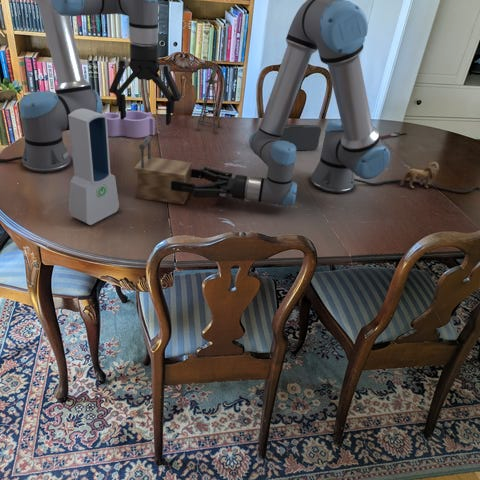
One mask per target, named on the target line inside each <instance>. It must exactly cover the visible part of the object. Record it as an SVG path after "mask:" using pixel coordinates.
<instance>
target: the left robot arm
mask: <svg viewBox="0 0 480 480" xmlns="http://www.w3.org/2000/svg"><path fill="white" fill-rule="evenodd" d="M32 1H33V2H34V3H36V4H37V7H38V10H39V14H40V18H41V23H42V26H43V31H44V34H45V38H46V41H47V45H48V48H49V53H50V56H51V60H52V64H53V68H54V72H55V76H56V79H57V85H56V87H55V88H54V91H55V92H54V91H51V90H42V91H41V90H37V91H32V92H30V93H26V94H24V96H22V97H21V99H20V100H19V103H18V104H19V116H20V120H21V126H22V132H23V136H24V148H23V153H22V156H15V157H12V158H0V163H9V162H10V163H11V162H14V161H20V160H21V161H22V166H23V168H24V169H25V170H27V171H29V172H33V173H39V174H46V173H56V172H61V171H63V170H66V169H67V168H69V167H70V166H71V163H72V159H71V155H70V153H69V151H68V150H67V149H68V148H67V147H66V145H65V143H64V140H63V132H66V131H67V132H68V131H70V128H69V119H68V115H69V114H70V113H71V112H73V111H75V110H77V109H88V110H91V111H94V112H97V113H100V114H103V111H104V110H103V109H104V108H103V107H104V106H103V102H102V98H101V96H100V94H99V92H98V91H97V90H95V89H93V88H92V86H91V83H90V82H89V81H88V80H86V79H85V75H84V72H83V67H82V62H81V59H80V54H79V51H78V45H77V41H76V38H75V33H74V30H73V24H72V22H71V17H77V16H96V15H97V16H98V15H100V16H101V15H102V16H103V15H122V16H127V17H128V29H129V31H128V33H129V42H130V44H129V57H130V59H129V60H127V59H125V58H122V59H121V60H120V59H119V61H118V69H117V71H116V73H115V76H114V78H113V80H112V83H111V85H110V87H109V89H108V92H109V93H111V94H114V95H115V98H116V100H115V101H116V106H117V107H118V108H119V113H120V118H121V119H124V118H125V117H126V111H127V106H126V104H127V103H126V94H124V91H126V90H127V88H129V86H130V85H131V84H132V82H134V81H135V79H138V80H144V81H152V82H153V83H154V84H155V85H156V87H157V88H158V89H159V90H160V92H161V93H162V94H163V96H164V97H165V98H166V100H167V101H166V102H165V125H166V126H170V125H171V123H172V114H174V112H175V103H176V102H179V101H180V100H181V99H182V95H181V93H180V91H179V88H178V86H177V84H176V81H175V80H174V77H173V75H172V72H171V65H170V64H169V63H167V64H160V62H159V45H157V44H158V43H159V0H32ZM128 68H129V69H130V71H132V72H131V73H130V75H129V76H128V77H127V78H126V80H125V81H124V82H123V83H122V84H121V86H120V87H119V85H120V82H121V80H122V78H123V75H124V73H125V71H126V69H128ZM159 71H161V74H163V76H164V78H165V81H166V83H167V84H166V83H165V82H164V80H163V79H162V77H161V76H160V74H159ZM167 85H168V86H167ZM168 87H169V88H168Z"/></svg>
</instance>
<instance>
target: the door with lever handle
mask: <svg viewBox="0 0 480 480" xmlns="http://www.w3.org/2000/svg"><path fill="white" fill-rule="evenodd" d="M152 140H153V136H152V135H148V136H146V137H144V139H143V141H142V142H140V144H139V145H138V148H139V150H140V160H139V162H138V163H137V164H136V165H135V166H134V168H133V169H134V170H133V172H134V173H137V172H140V173H148V174H155V175H162V176H169V177H176V178H184V179H185V177H186V175H187V173H188V171H189V170H190V168H191V166H192V165H193V162H192V161H191V162H190V161H183V160H176V159H169V158H161V157H155V156H154V157H153V156H151V151H152V149H151V142H152ZM145 149H147V155H145ZM192 167H193V166H192Z"/></svg>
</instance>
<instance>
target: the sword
mask: <svg viewBox="0 0 480 480" xmlns="http://www.w3.org/2000/svg"><path fill="white" fill-rule="evenodd" d="M404 134H406V133H402V134H400V132H393V133H390V134H387V135H380V140H381V139H386V138H390V137H394V136H395V137H398V136H399V135H404Z"/></svg>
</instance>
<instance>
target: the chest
mask: <svg viewBox="0 0 480 480" xmlns="http://www.w3.org/2000/svg"><path fill="white" fill-rule="evenodd" d="M192 167H193V166H191V168H190V170H189V171H188V173H187V175H186V177H185V179H184V178H176V177H169V176H162V175H155V174H148V173H140V172H136V173H137V198H138V199H142V200H150V201H155V202H156V201H157V202H164V203H171V204H179V205H185V203H186V201H187V199H188V197H189V195H190V193H189V192H182V191H175V190H171V181H176V182H183V183H191V184H192V177H191V169H193V168H192Z"/></svg>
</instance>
